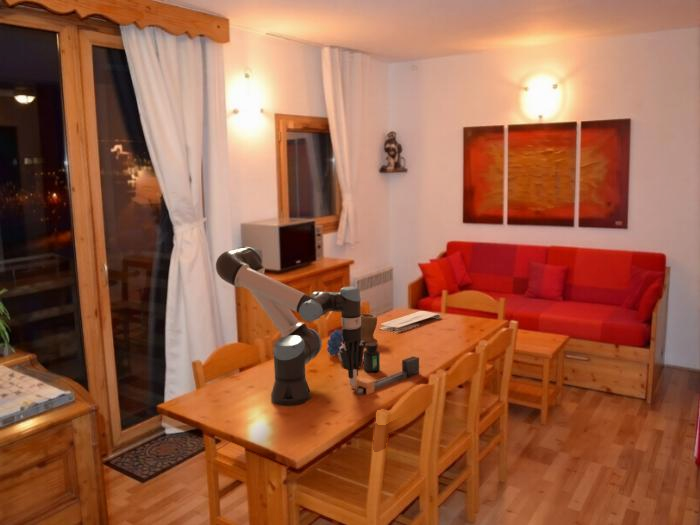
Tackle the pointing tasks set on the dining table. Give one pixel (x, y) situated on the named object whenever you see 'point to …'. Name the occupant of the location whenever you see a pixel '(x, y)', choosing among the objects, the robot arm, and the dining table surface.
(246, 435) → the dining table surface
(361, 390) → the upper tong arm
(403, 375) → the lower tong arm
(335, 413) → the dining table surface
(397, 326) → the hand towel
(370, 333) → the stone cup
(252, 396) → the dining table surface
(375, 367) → the supplement bottle
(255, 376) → the dining table surface
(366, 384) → the lock collar
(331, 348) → the grapes
